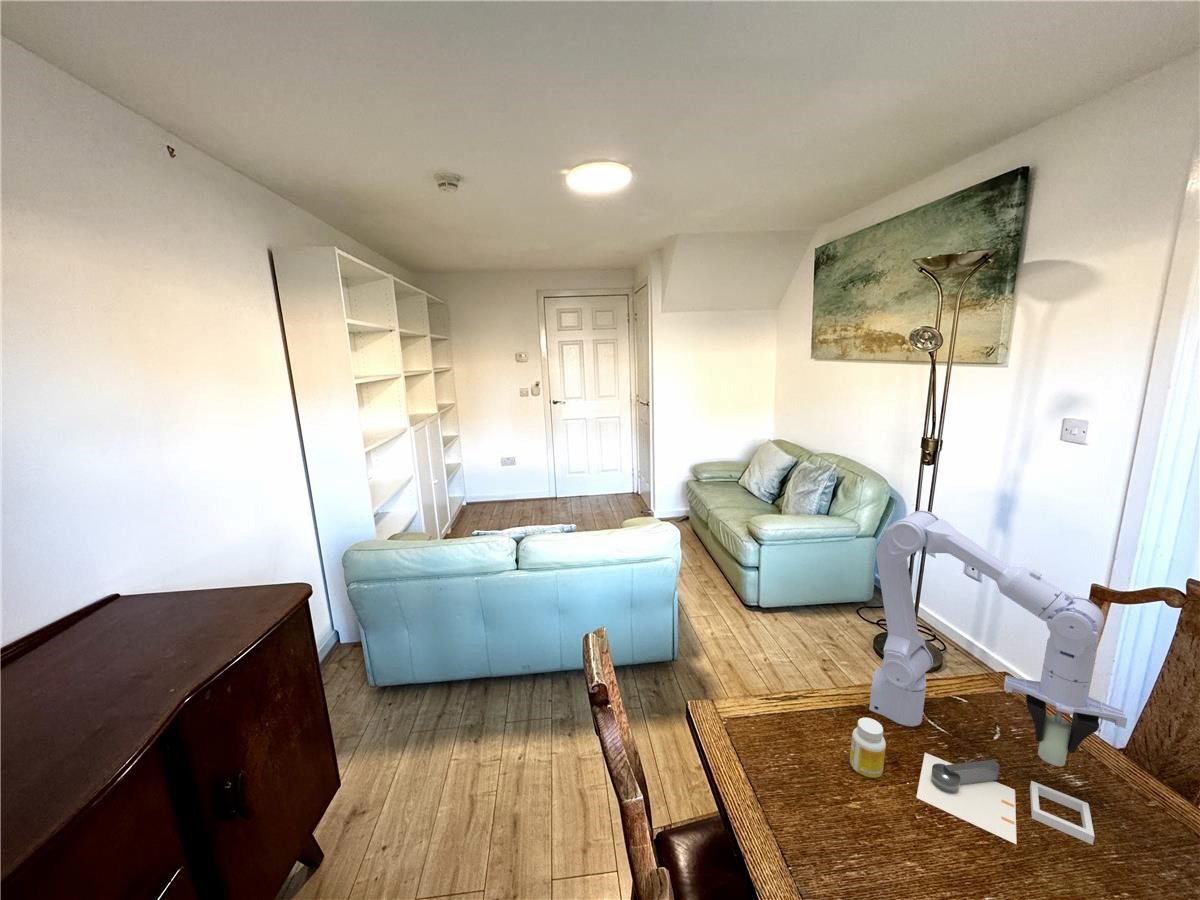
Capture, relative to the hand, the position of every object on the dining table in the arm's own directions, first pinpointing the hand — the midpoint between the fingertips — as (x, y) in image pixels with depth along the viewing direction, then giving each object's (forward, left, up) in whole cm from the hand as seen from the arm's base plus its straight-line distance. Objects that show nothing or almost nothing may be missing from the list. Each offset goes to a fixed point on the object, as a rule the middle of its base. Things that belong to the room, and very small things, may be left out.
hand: (1054, 743), depth 82 cm
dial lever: (-11, -7, -9) cm, 16 cm away
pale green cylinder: (0, 0, -3) cm, 3 cm away
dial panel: (-11, -10, -10) cm, 17 cm away
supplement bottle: (-25, -14, -10) cm, 30 cm away
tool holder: (+1, -5, -10) cm, 11 cm away
